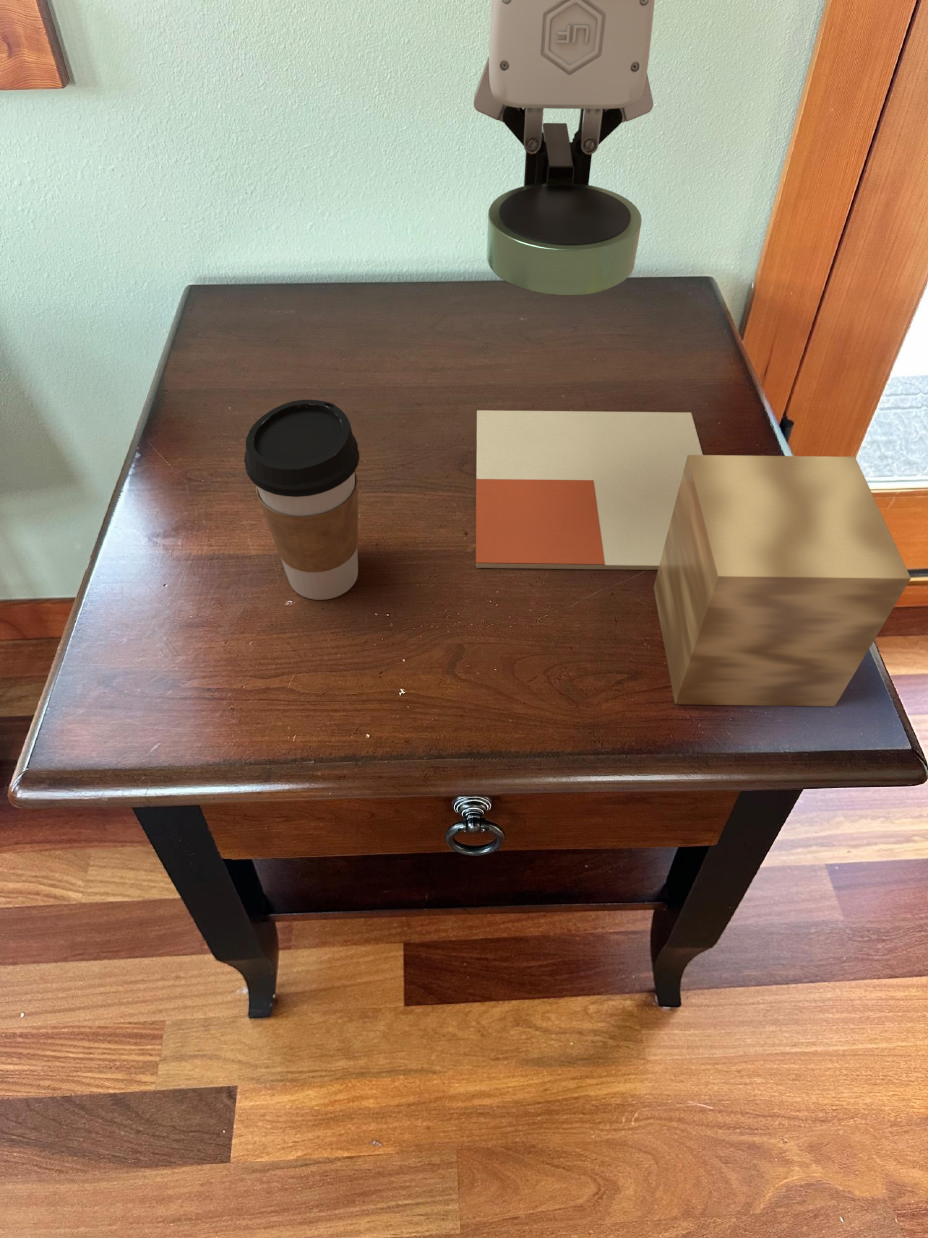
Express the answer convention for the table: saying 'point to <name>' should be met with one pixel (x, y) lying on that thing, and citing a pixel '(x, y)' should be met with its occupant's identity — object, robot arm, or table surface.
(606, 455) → the mat
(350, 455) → the coffee cup
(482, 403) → the table surface
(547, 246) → the pan
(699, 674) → the block
